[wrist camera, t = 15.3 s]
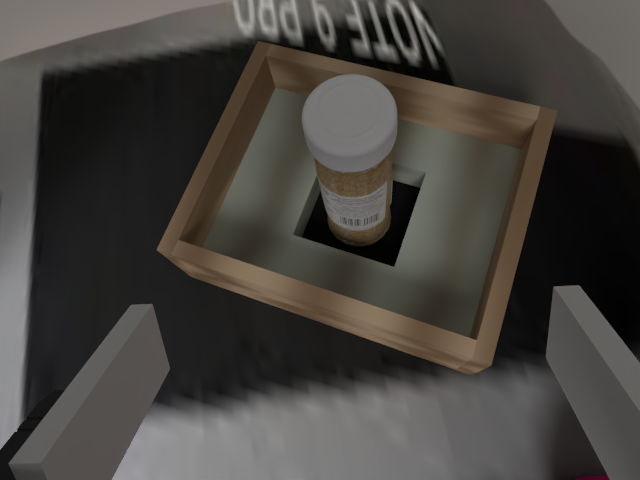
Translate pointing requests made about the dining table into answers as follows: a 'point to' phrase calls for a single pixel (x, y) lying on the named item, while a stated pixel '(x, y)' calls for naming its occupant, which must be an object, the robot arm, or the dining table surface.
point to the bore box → (407, 167)
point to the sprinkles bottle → (353, 154)
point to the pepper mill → (593, 477)
